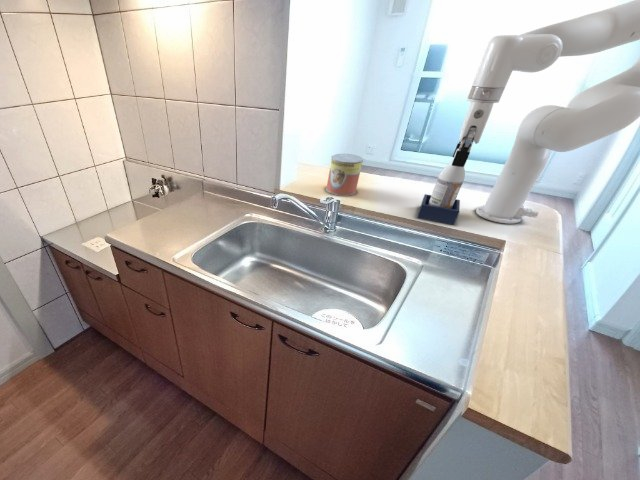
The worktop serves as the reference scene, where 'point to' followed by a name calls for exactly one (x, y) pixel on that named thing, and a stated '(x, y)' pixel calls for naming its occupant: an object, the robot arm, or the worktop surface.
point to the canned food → (344, 174)
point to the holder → (438, 211)
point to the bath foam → (447, 186)
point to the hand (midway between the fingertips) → (457, 161)
